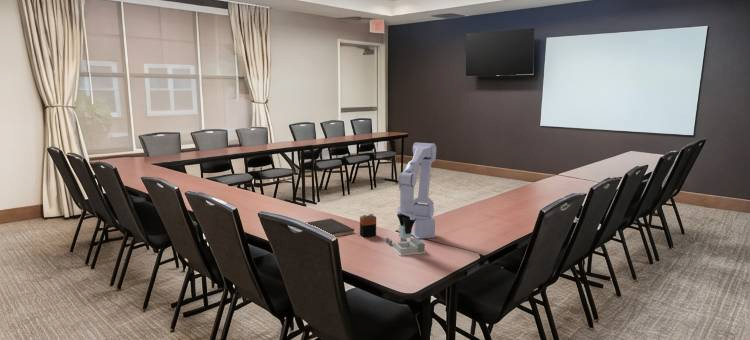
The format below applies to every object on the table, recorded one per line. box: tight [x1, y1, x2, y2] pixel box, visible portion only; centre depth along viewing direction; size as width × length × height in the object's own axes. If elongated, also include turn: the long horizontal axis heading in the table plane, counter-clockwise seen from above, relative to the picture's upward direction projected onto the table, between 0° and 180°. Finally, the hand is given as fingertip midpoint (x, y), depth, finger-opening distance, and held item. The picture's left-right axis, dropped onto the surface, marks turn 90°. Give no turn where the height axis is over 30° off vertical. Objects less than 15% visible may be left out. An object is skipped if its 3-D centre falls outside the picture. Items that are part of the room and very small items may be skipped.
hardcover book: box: [306, 218, 355, 237], centre depth 220 cm, size 16×23×2 cm
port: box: [391, 237, 428, 257], centre depth 192 cm, size 12×10×4 cm
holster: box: [385, 237, 408, 246], centre depth 202 cm, size 8×5×2 cm, turn 108°
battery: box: [359, 213, 377, 238], centre depth 211 cm, size 4×7×10 cm, turn 116°
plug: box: [398, 223, 413, 239], centre depth 190 cm, size 4×4×6 cm
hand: (405, 232), depth 190 cm, fingers closed on plug, 4 cm apart
